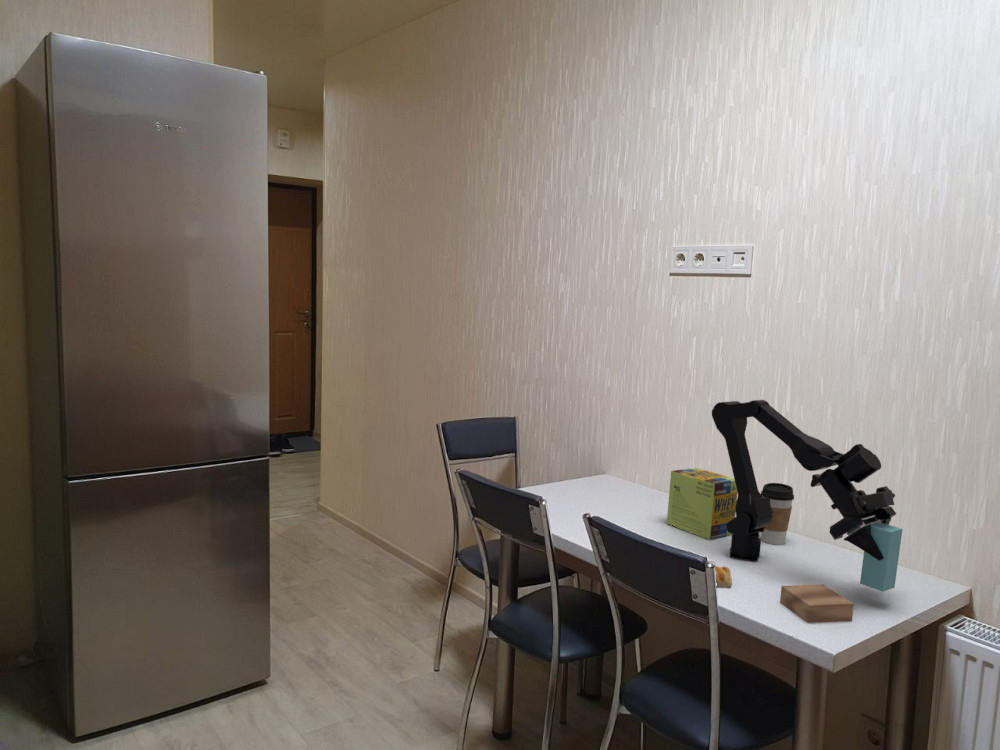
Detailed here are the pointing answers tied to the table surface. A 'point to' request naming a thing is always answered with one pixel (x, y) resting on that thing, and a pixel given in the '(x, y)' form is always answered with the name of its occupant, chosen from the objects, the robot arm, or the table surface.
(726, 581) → the pastry
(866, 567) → the teal pillar
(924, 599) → the table surface
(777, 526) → the coffee cup
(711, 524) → the protein box
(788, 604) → the walnut block
